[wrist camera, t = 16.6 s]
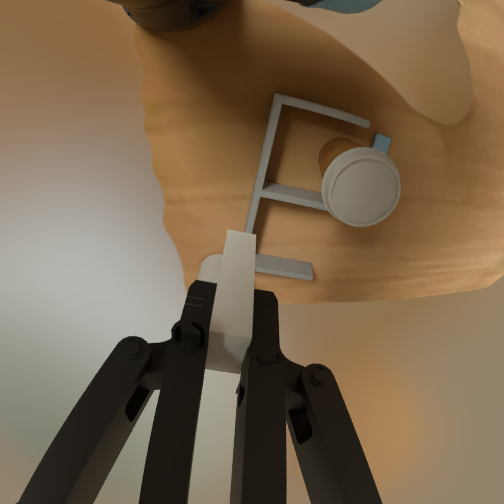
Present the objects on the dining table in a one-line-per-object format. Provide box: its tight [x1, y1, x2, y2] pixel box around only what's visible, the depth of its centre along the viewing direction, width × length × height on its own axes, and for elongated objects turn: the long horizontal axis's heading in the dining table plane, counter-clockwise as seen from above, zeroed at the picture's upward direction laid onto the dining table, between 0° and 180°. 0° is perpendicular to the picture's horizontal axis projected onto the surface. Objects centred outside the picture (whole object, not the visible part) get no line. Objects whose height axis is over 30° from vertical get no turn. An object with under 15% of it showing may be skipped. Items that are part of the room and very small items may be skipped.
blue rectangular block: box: [371, 133, 391, 154], centre depth 38 cm, size 11×2×1 cm, turn 169°
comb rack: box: [244, 93, 371, 281], centre depth 40 cm, size 27×12×4 cm, turn 169°
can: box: [197, 254, 223, 283], centre depth 46 cm, size 8×8×12 cm
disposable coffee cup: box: [319, 138, 401, 227], centre depth 33 cm, size 10×10×12 cm
